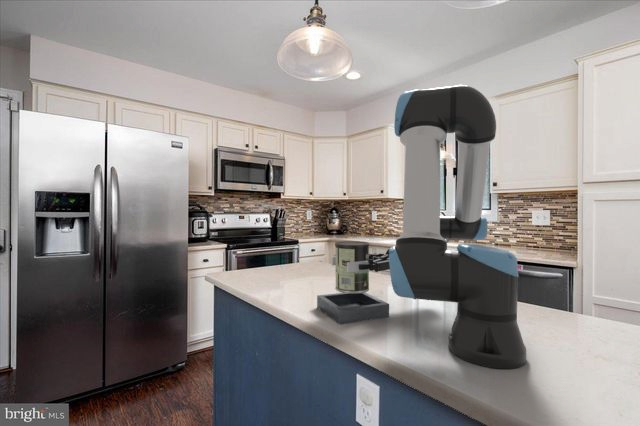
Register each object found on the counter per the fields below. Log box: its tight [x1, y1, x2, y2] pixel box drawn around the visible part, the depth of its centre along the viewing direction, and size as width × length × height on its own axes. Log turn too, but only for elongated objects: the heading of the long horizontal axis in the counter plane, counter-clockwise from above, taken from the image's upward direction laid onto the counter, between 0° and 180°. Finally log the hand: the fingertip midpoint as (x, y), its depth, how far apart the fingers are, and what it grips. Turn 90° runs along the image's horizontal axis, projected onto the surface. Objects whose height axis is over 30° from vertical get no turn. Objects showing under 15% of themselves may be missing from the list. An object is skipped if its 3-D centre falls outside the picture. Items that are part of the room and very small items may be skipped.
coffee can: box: [334, 240, 370, 294], centre depth 98 cm, size 10×10×14 cm
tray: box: [316, 292, 390, 325], centre depth 98 cm, size 16×16×4 cm
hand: (339, 264), depth 96 cm, fingers closed on coffee can, 10 cm apart
